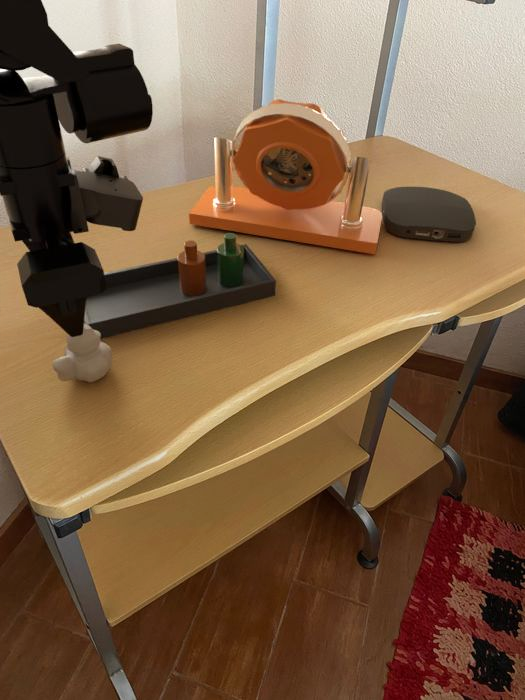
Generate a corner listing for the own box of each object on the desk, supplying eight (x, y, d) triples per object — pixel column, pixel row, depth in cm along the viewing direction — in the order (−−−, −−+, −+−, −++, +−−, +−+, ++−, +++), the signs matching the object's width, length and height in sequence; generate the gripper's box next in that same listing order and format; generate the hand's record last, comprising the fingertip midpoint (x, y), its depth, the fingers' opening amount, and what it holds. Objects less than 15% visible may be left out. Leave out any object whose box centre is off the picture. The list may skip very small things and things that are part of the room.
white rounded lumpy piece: (125, 374, 60) (114, 320, 55) (72, 403, 56) (55, 348, 51) (100, 350, 63) (87, 296, 57) (48, 376, 59) (30, 321, 54)
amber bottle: (184, 298, 70) (181, 253, 66) (176, 284, 73) (172, 239, 68) (210, 292, 71) (208, 247, 67) (201, 278, 74) (199, 234, 69)
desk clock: (373, 259, 80) (402, 123, 67) (188, 228, 85) (180, 96, 72) (380, 221, 89) (407, 95, 76) (212, 195, 94) (209, 72, 80)
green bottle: (223, 289, 72) (222, 244, 67) (213, 275, 74) (212, 231, 70) (247, 284, 73) (248, 239, 69) (237, 270, 76) (237, 226, 71)
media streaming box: (460, 204, 95) (465, 188, 93) (476, 246, 84) (482, 229, 82) (379, 197, 96) (382, 182, 94) (384, 238, 85) (388, 221, 83)
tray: (89, 341, 64) (85, 325, 62) (74, 295, 71) (70, 279, 69) (275, 295, 72) (276, 280, 71) (245, 258, 79) (246, 243, 77)
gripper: (158, 187, 39) (173, 344, 49) (103, 108, 51) (125, 247, 62) (-3, 211, 35) (50, 376, 46) (-20, 120, 48) (25, 266, 58)
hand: (68, 307), depth 53 cm, fingers open, 9 cm apart
